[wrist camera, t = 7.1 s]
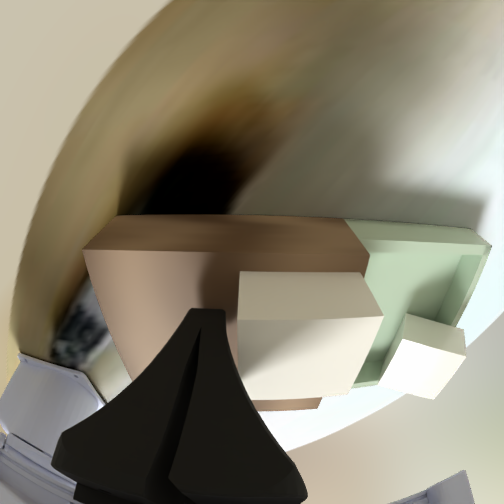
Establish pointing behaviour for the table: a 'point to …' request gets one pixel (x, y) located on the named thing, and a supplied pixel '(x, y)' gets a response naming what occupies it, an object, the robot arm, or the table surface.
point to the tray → (416, 277)
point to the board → (203, 273)
